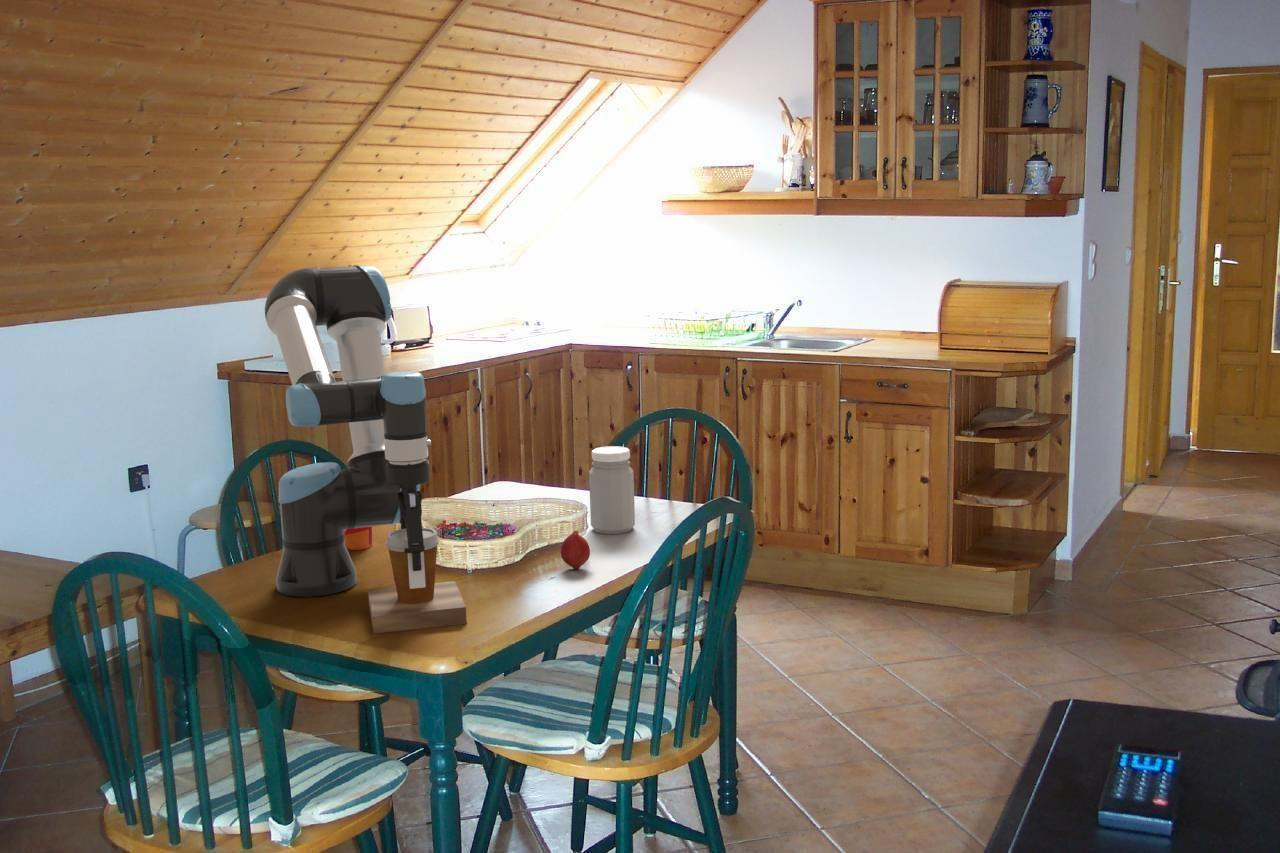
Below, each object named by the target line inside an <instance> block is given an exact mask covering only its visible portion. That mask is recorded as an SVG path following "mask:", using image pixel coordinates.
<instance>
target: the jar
mask: <svg viewBox="0 0 1280 853" xmlns="http://www.w3.org/2000/svg"><path fill="white" fill-rule="evenodd" d="M629 459H631V450H630V449H629V448H628V447H625V446H619V445H617V446H614V445H613V446H612V445H609V446H608V445H607V446H601V447H595V448H594V449H592V450H591V460H593V461H592V462H591V465H592V467H591V468H590V470H589V471H588V477H589V478H588V479H589V509H590V511H589V512H590V526H591V527H592V529H593V530H594V531H595V532H596V533H598V532H599V534H603V535H619V534H620V535H621V534H625V533H629V532H630V531H631V530H633V528H634V527H635V525H636V517H635V515H636V513H635V510H636V509H635V480H634V479H635V477H634V475H635V474H634V469H633V468H632V467H631V466H630V465H631V461H629Z"/></svg>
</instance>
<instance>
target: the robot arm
mask: <svg viewBox="0 0 1280 853" xmlns="http://www.w3.org/2000/svg"><path fill="white" fill-rule="evenodd" d="M391 315H392V304H391V295H390V291H389V287H388V284H387V281H386V278H385V277H384V274H383V273H382V272H381V270H379V268H377V267H375V266H374V265H359V264H354V265H351V266H332V267H331V266H330V267H312V268H311V267H306V268H304V267H303V268H300V269H297V270H294V271H291V272H288V273H287V274H286V275H284V276H283V277H282V278H280V279H279V280H278V281H277V282H276V283H275V285H274V286H272V288H271V289H270V291H269V293H268V295H267V297H266V300H265V305H264V316H265V321H266V324H267V327H268V328H269V330H270V331H271V333H272V334H274V335H275V336H276V337H277V341H278V344H279V347H280V351H281V355H282V357H283V360H284V364H285V366H286V370H287V372H288V376H289V379H290V381H291V385H289V386H288V387H287V388H286V392H285V406H286V412H287V418H288V422H289V423H290V425H291V426H294V427H297V428H298V427H311V428H312V427H313V428H314V427H318V426H327V425H336V424H345V423H349V431H350V437H351V444H352V452H353V453H352V454H351V455H350V457H349V458H348V459H347V460H346V462H347V468H346V469H345V468H344V469H342V468H341V466H340V464H339V463H337V462H332V461H328V462H327V461H326V462H316V463H311V464H306V465H303V466H299V467H295V468H293V469H291V470H289V471H287V472H285V473H284V474H283V475H282V476H281V477H280V479H279V482H278V498H277V499H278V501H277V502H278V503H279V508H280V511H279V512H280V524H281V538H282V553H281V557H280V562H279V564H278V570H277V572H276V579H275V582H276V591H277V592H279V594H282V595H286V596H291V597H298V598H299V597H300V598H301V597H302V598H304V597H309V598H310V597H319V596H327V595H332V594H337V593H340V592H344V591H346V590H348V589H351V588H352V587H354V586H356V585H357V582H358V579H357V570H356V566H355V564H354V562H353V560H352V558H351V555H350V552H349V550H348V549H347V547H346V545H345V536H344V530H346V529H354V528H362V527H370V526H372V527H377V526H378V527H379V526H386V525H387V526H388V525H391V526H394V525H395V524H400V529H405V528H406V531H407V540H408V548H405V549H404V553H408V569H409V586H410V589H414V588H424V587H426V584H425V567H424V549H425V546H424V542H423V532H422V528H423V524H422V513H423V511H422V509H423V508H422V501H423V498H422V497H423V496H422V492H421V485H423V484H425V483H428V482H429V481H430V480H431V472H430V470H431V469H430V461H429V460H428V459H427V458H428V457H429V447H428V446H431V445H432V440H431V439H428V423H427V422H428V420H427V400H426V396H427V389H426V384H425V377H424V375H423V374H422V373H421V372H420V371H419V372H418V371H411V370H407V371H406V370H403V371H400V370H399V371H392V372H391V371H390V372H386V368H385V363H384V362H385V361H384V356H383V349H382V343H381V336H380V335H381V334H382V333H383V332H384V331H385V330H386V322H388V321H390V319H391V317H392V316H391ZM318 326H319V327H321V326H325V327H326V330H327V335H328V337H330V338H331V339H333V340H334V341H335V342H336V345H337V351H338V359H339V364H340V372H341V380H338V381H337V380H336V379H335V376H334V373H333V371H332V367H331V365H330V362H329V359H328V356H327V354H326V351H325V348H324V345H323V342H322V340H321V336H320V333H319V332H318V329H317V327H318ZM416 543H418V544H417V545H412V544H416Z"/></svg>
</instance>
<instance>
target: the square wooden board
mask: <svg viewBox="0 0 1280 853" xmlns="http://www.w3.org/2000/svg"><path fill="white" fill-rule="evenodd" d="M367 598H368V608H369V609H368V610H369V614H370V620H371V626H372V632H373V634H381V633H382V634H383V633H391V632H392V633H393V632H401V631H409V630H411V631H412V630H419V629H427V628H438V627H445V626H446V627H447V626H455V625H456V626H457V625H464V624H465V625H466V624H467V622H468V621H467V606H466V604H465V602H464V599H463V597H462V594H461V592H460V590H459V588H458V585H457V582H456V581H454V580H453V581H443V582H435V585H434V598H433V599H432V600H430V601H427V602H423V603H416V604H407V603H402V602H400V601H399V600H398V596H397V590H396V586H393V587H391V586H390V587H383V588H375V589H373V588H372V589H367Z"/></svg>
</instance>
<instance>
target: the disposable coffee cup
mask: <svg viewBox="0 0 1280 853" xmlns="http://www.w3.org/2000/svg"><path fill="white" fill-rule="evenodd" d="M422 532H423V542H424V546H425V549H424V567H425V584H426V587H424V588H414V589H410V586H409V569H408V553H404V549H405V548H408V540H407V531H406V528H405V529H401V528H400V529H396V530H393V531H391V532H389V533H387V538H386V540H385V541H384V542H385V543H384V544H385V546H386V548H387V550H388V553H389V558H390V559H389V560H390V564H391V569H392V574H393V579H394V584H395V587H396V590H397V596H398V600H399V601H400V602H402V603H407V604H416V603H423V602H427V601H430V600H432V599H433V598H434V585H435V583H436V580H435V579H436V571H437V569H436V568H437V554H438V545H439V542H440V540H441V539H440V537H439V535H438V533H437V530H436V529H433V528H429V527H422ZM417 544H418V543H416V544H412V545H417Z"/></svg>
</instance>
